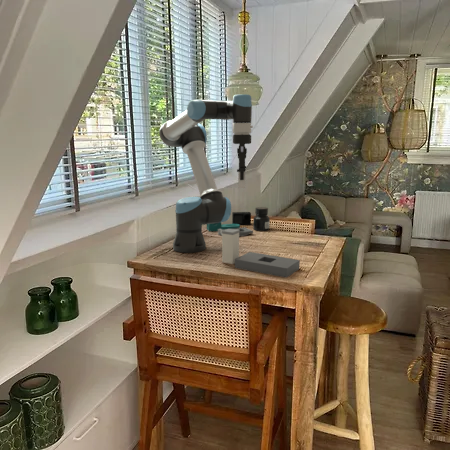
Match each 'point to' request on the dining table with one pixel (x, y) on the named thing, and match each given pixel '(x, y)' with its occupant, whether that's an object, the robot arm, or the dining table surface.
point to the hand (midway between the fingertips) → (241, 185)
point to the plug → (230, 245)
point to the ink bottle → (261, 219)
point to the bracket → (221, 226)
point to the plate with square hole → (267, 264)
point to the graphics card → (242, 231)
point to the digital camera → (241, 218)
